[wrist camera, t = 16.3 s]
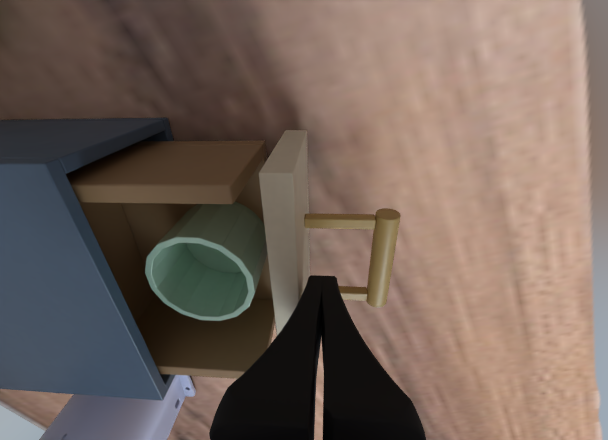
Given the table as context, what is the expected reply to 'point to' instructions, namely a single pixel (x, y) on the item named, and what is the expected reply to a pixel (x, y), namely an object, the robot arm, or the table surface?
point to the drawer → (217, 190)
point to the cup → (209, 261)
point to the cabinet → (65, 266)
